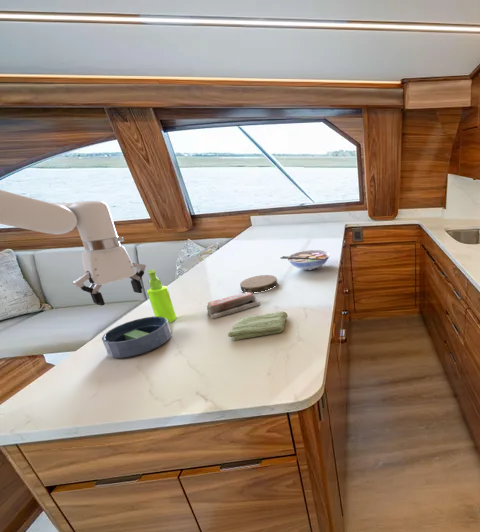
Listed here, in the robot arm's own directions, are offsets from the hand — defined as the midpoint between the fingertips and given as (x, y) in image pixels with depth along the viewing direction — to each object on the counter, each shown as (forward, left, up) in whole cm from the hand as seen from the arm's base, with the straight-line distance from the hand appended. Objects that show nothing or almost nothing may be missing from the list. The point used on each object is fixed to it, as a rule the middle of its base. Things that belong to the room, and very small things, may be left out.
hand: (120, 298), depth 92 cm
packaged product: (+31, -7, -17) cm, 36 cm away
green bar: (+1, 0, -17) cm, 16 cm away
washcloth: (+22, -30, -18) cm, 41 cm away
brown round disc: (+52, +1, -17) cm, 55 cm away
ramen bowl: (+82, -6, -18) cm, 84 cm away
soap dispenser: (+15, +10, -17) cm, 25 cm away
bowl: (+1, 0, -17) cm, 17 cm away
